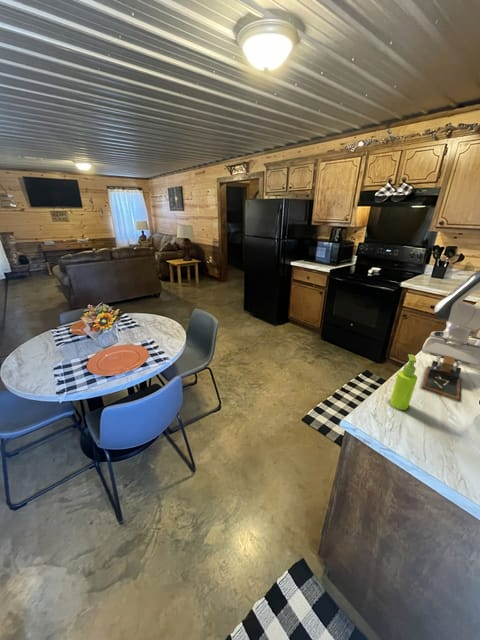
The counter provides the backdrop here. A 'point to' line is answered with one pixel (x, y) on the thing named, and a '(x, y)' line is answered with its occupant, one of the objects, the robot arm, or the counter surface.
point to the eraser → (446, 368)
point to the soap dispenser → (404, 385)
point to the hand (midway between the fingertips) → (446, 368)
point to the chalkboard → (441, 385)
